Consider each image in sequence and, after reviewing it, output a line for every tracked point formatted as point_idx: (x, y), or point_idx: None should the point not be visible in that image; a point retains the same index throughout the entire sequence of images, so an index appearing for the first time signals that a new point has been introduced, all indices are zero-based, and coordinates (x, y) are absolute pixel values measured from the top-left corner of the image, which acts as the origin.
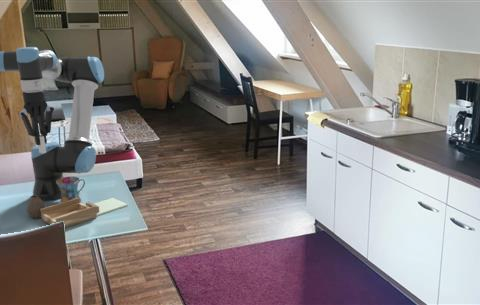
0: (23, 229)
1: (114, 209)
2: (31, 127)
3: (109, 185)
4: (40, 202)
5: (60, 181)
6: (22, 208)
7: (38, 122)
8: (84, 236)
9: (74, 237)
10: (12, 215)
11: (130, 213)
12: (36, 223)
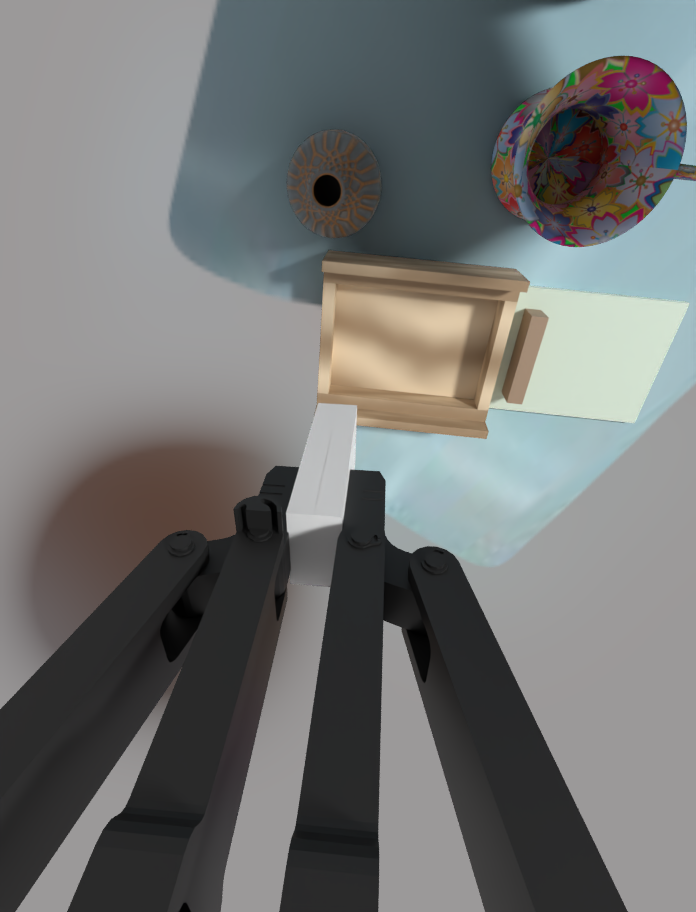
0: (233, 274)
1: (569, 415)
2: (142, 711)
3: None
4: (342, 228)
5: (585, 82)
6: None
7: (315, 699)
8: None
9: None
10: (256, 26)
11: (567, 479)
12: (297, 261)
